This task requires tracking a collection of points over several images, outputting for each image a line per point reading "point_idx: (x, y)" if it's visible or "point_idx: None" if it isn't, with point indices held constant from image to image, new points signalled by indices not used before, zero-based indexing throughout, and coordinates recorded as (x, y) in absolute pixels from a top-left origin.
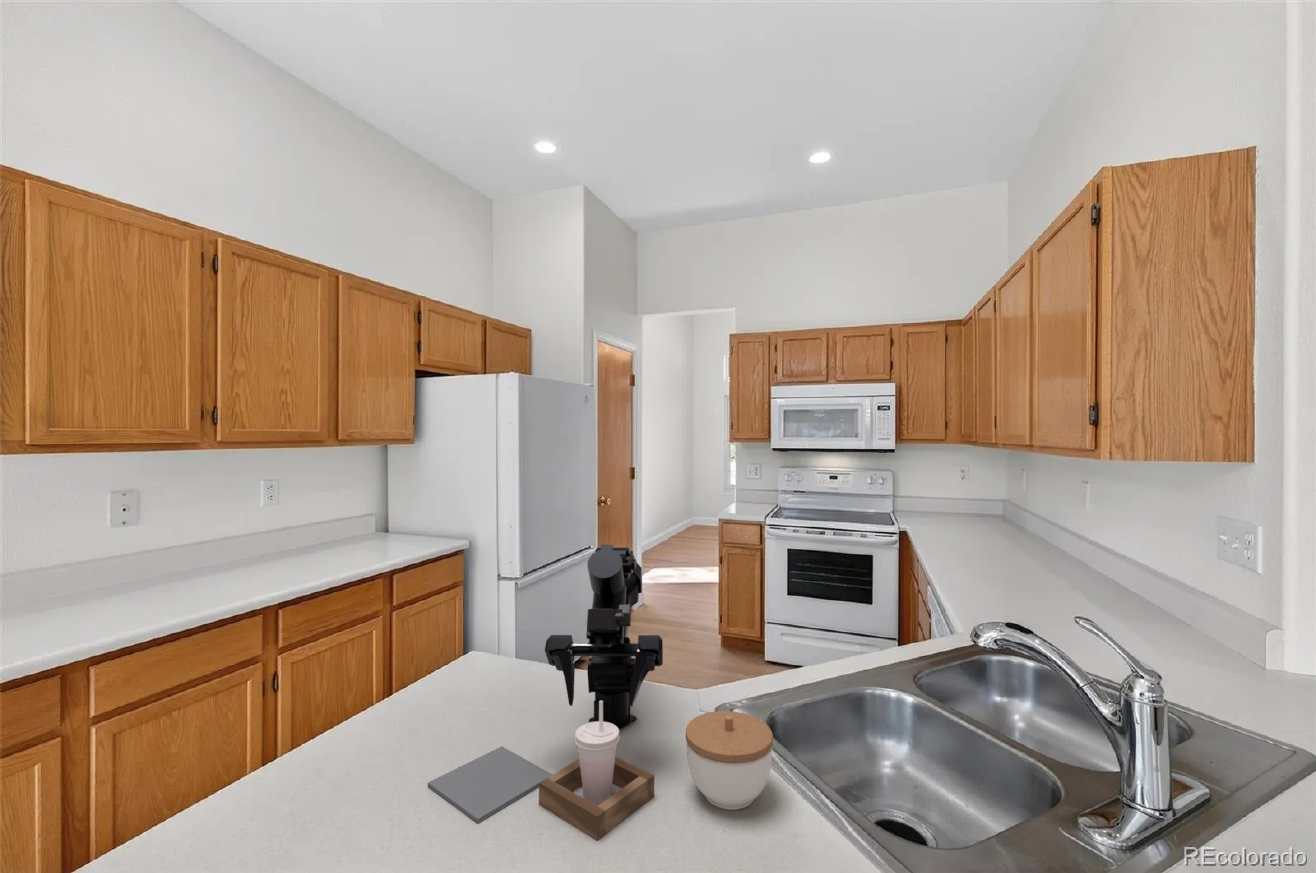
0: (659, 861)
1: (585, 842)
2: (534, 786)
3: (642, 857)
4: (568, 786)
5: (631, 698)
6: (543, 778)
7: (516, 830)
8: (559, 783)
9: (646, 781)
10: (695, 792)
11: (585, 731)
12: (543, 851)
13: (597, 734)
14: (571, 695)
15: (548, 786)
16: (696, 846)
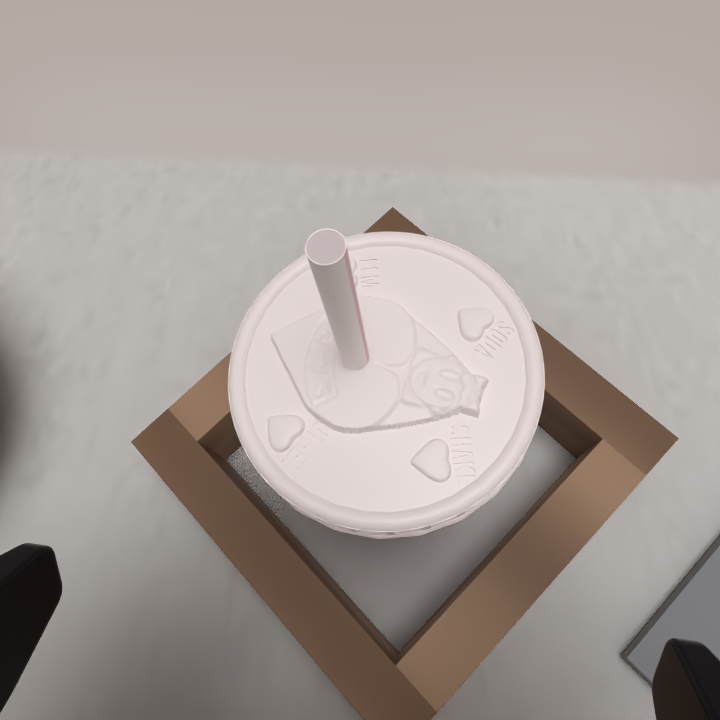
0: (218, 166)
1: None
2: (697, 567)
3: (263, 182)
4: (529, 512)
5: (6, 562)
6: (669, 627)
7: (688, 317)
8: (574, 467)
9: (175, 403)
10: (7, 466)
11: (469, 373)
12: (564, 219)
13: (381, 312)
14: (711, 697)
15: (622, 402)
16: (101, 211)
